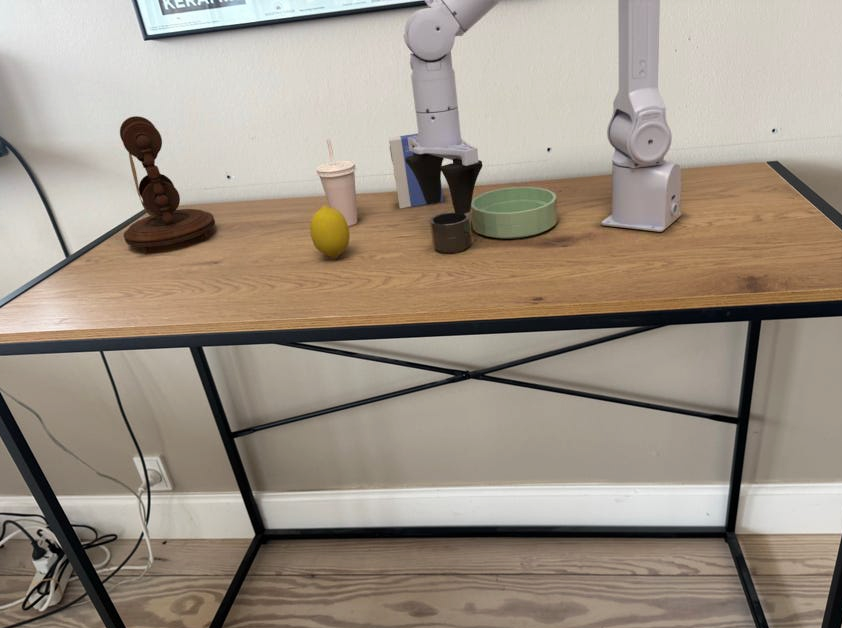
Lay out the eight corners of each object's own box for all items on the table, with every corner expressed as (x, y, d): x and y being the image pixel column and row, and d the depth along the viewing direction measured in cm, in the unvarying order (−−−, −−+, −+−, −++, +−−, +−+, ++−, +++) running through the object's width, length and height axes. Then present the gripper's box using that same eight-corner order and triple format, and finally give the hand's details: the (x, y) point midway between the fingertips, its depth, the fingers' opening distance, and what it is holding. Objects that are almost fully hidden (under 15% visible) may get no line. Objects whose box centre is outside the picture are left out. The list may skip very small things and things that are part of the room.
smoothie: (320, 228, 116) (302, 143, 110) (340, 216, 121) (324, 134, 115) (353, 230, 114) (336, 143, 107) (372, 217, 119) (357, 133, 112)
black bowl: (479, 242, 103) (476, 214, 101) (456, 256, 99) (453, 226, 97) (448, 238, 106) (445, 210, 104) (426, 251, 102) (422, 222, 100)
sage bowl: (572, 217, 109) (571, 190, 107) (529, 245, 100) (528, 217, 98) (501, 209, 116) (500, 184, 114) (456, 235, 107) (453, 208, 105)
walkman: (441, 197, 125) (433, 129, 119) (443, 202, 123) (435, 132, 117) (398, 204, 124) (387, 135, 118) (399, 208, 122) (388, 138, 116)
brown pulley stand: (125, 238, 123) (83, 121, 113) (210, 219, 128) (177, 105, 118) (131, 262, 111) (85, 134, 101) (224, 240, 116) (189, 116, 106)
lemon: (360, 251, 105) (350, 199, 101) (342, 266, 100) (332, 212, 96) (328, 250, 107) (317, 199, 103) (309, 264, 102) (297, 212, 98)
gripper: (384, 109, 96) (398, 205, 103) (441, 120, 86) (453, 226, 92) (427, 100, 100) (438, 193, 106) (487, 109, 89) (495, 212, 96)
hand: (447, 207), depth 99 cm, fingers open, 7 cm apart
